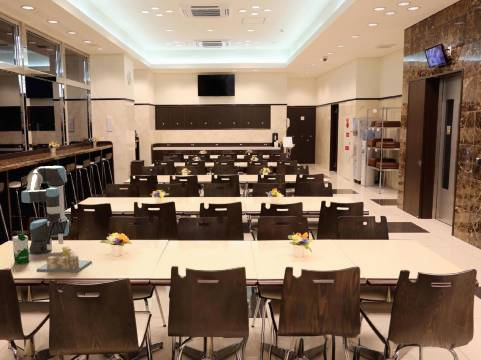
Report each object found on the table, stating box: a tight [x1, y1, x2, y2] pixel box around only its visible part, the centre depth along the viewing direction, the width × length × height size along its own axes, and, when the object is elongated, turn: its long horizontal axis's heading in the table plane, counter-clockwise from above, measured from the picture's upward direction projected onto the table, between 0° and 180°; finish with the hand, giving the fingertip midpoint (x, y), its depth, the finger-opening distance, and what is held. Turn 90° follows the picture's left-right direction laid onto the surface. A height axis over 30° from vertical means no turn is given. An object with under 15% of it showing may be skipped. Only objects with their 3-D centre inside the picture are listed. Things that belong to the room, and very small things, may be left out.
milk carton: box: [12, 233, 30, 265], centre depth 308 cm, size 9×9×20 cm
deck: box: [36, 246, 93, 274], centre depth 299 cm, size 21×27×11 cm
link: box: [46, 255, 80, 270], centre depth 292 cm, size 18×6×7 cm, turn 88°
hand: (55, 246), depth 284 cm, fingers open, 13 cm apart
